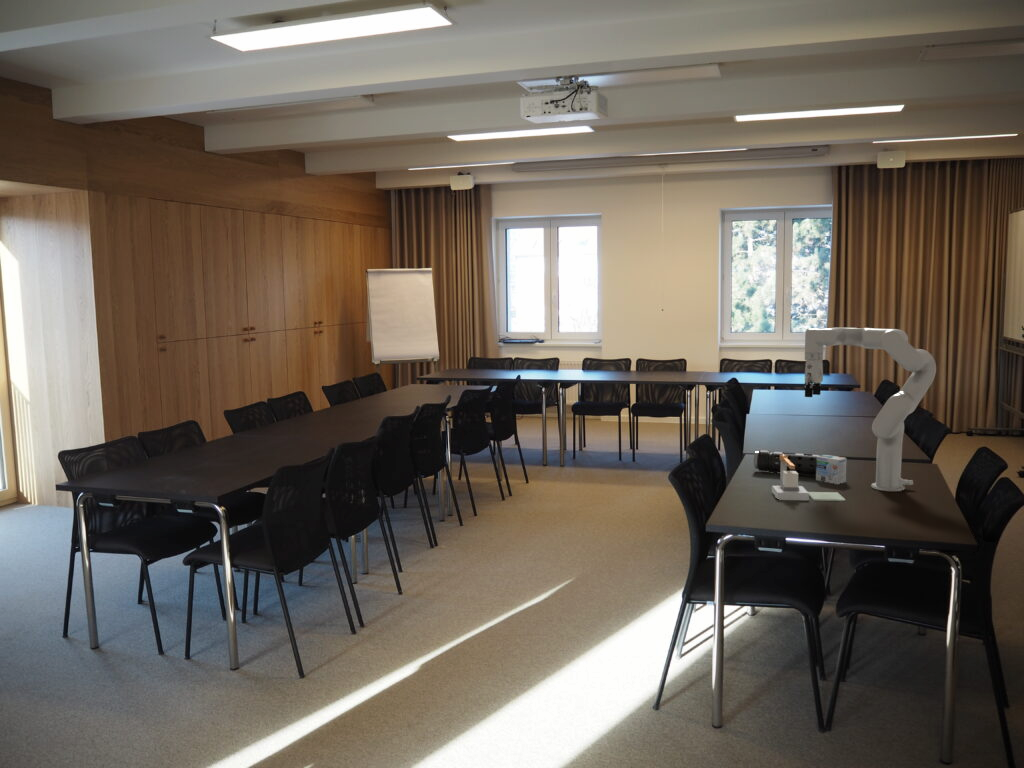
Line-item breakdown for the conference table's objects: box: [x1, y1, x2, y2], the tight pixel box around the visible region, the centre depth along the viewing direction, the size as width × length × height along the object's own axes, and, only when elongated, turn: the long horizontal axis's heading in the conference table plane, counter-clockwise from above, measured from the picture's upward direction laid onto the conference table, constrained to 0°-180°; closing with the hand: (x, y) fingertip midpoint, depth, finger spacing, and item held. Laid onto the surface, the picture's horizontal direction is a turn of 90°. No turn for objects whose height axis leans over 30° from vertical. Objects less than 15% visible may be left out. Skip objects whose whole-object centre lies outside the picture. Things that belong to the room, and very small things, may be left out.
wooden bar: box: [780, 455, 795, 469], centre depth 347 cm, size 20×3×2 cm, turn 173°
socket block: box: [771, 461, 810, 501], centre depth 347 cm, size 12×22×12 cm, turn 173°
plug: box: [781, 471, 799, 491], centre depth 342 cm, size 6×6×10 cm
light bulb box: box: [815, 454, 847, 485], centre depth 368 cm, size 11×7×11 cm, turn 40°
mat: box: [807, 491, 846, 502], centre depth 341 cm, size 12×12×1 cm
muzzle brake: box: [753, 449, 821, 478], centre depth 383 cm, size 10×28×10 cm, turn 63°
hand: (812, 395), depth 371 cm, fingers open, 9 cm apart
